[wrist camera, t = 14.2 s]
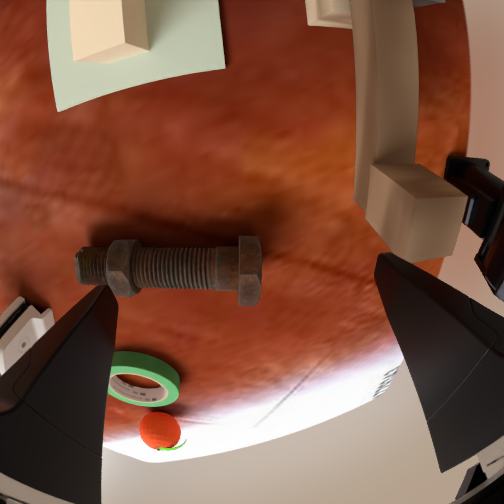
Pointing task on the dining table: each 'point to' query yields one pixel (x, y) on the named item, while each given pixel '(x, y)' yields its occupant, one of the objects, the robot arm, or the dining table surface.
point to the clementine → (160, 431)
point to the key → (396, 138)
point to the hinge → (21, 331)
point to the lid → (128, 44)
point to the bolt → (174, 268)
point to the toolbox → (340, 12)
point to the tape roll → (147, 368)
